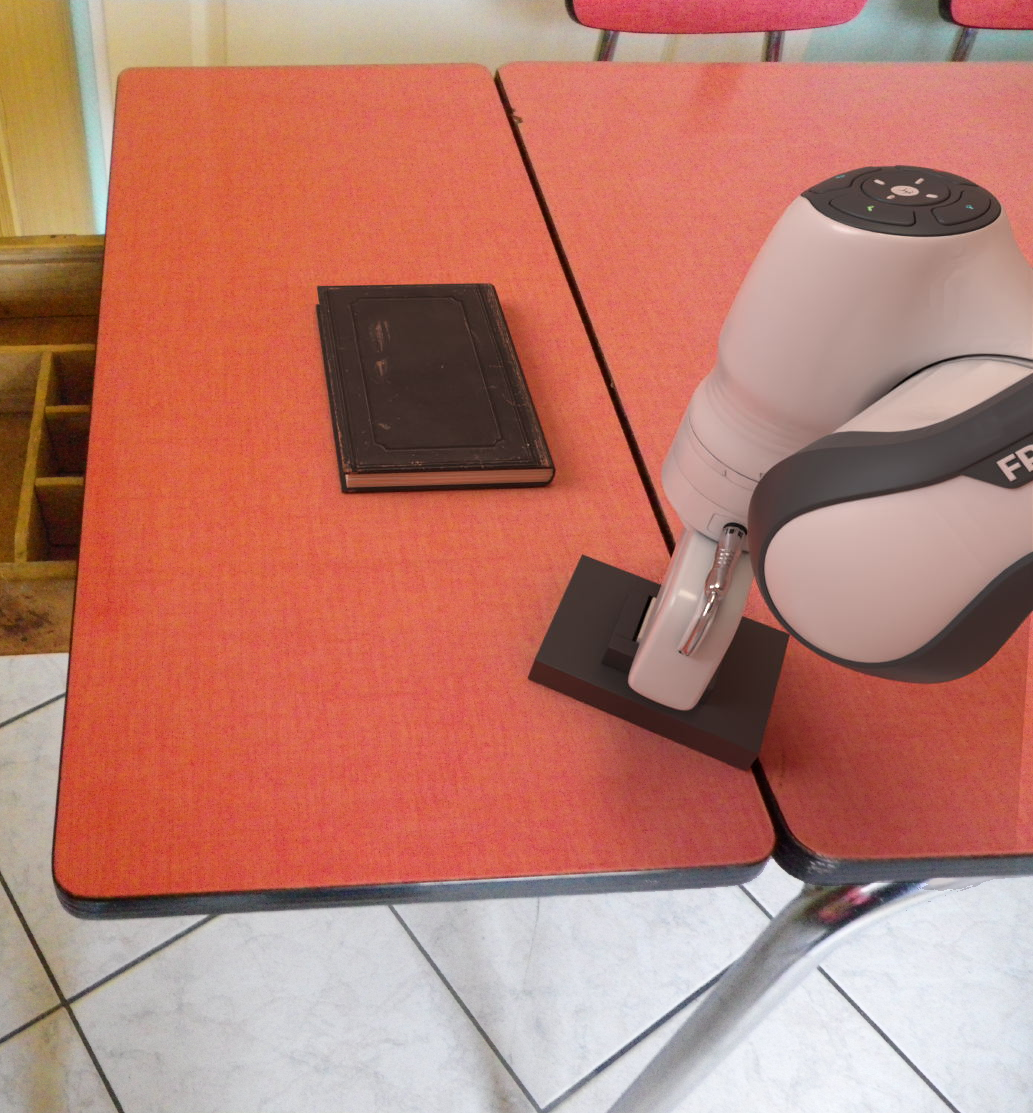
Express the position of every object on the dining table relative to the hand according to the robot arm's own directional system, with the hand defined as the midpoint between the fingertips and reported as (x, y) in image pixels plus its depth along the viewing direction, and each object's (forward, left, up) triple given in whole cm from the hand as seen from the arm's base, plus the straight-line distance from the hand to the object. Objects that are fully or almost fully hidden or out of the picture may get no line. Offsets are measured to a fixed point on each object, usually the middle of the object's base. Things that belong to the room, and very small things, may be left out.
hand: (671, 627), depth 64 cm
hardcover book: (+24, -18, -4) cm, 30 cm away
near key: (0, 0, -2) cm, 2 cm away
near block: (0, 0, -4) cm, 4 cm away
